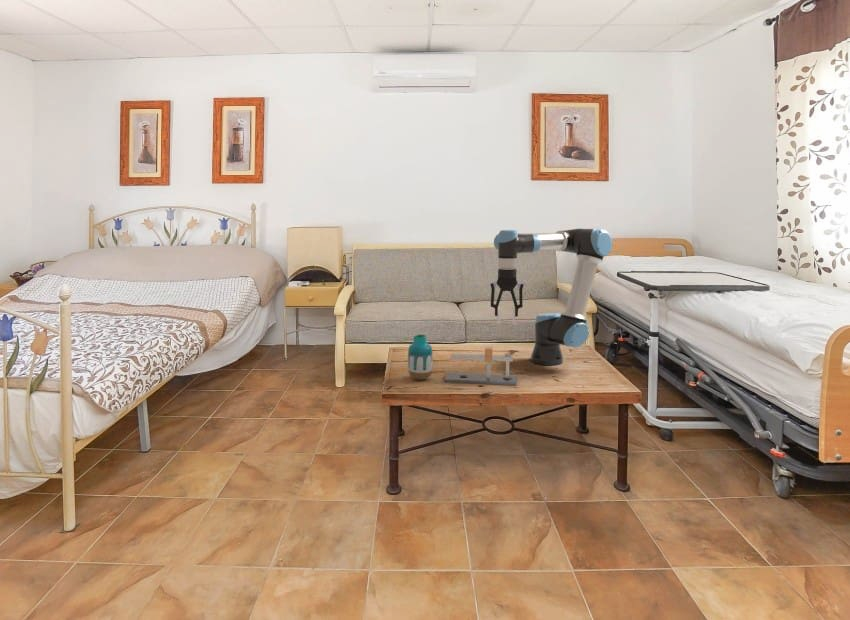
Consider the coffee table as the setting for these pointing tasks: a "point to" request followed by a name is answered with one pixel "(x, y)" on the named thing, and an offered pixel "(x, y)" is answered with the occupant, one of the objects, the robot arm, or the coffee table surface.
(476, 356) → the bar
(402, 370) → the coffee table surface
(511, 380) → the flange plate
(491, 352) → the block
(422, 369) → the vase
